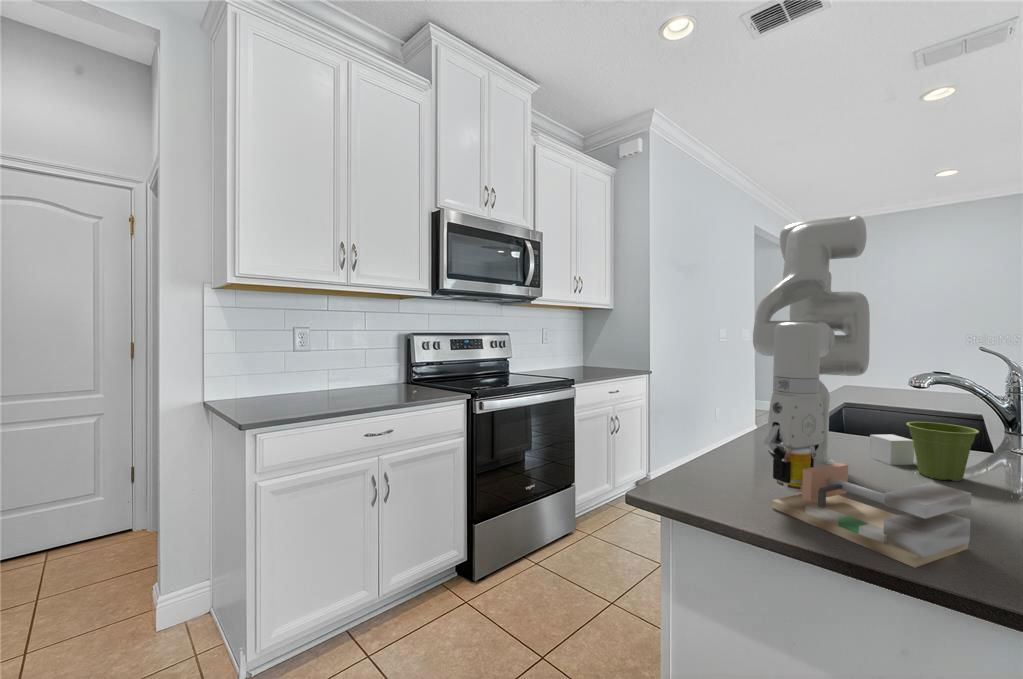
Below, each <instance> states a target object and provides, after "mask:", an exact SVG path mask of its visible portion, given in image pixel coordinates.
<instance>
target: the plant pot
mask: <svg viewBox="0 0 1023 679" xmlns="http://www.w3.org/2000/svg"><path fill="white" fill-rule="evenodd" d="M906 426H907V427H908V428H909V433H910V436H911V437H912V440H913V444H914V454H915V458H916V465H917V470H918V473H919V474H921V475H923V476H924V477H927V478H932V479H935V480H940V481H943V480H944V481H945V480H946V481H947V480H951V481H952V482H959V481H960V482H961V481H963V479H964V475H965V472H966V469H967V468H966V467H967V463H968V460H969V456H970V452H971V449H972V445H973V444H974V441H975V438H976V435H977V434H980V431H979V430H978V429H976V428H972V427H967V426H963V425H956V424H949V423H941V422H929V421H910V422H909V421H908V422H906Z"/></svg>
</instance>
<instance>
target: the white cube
mask: <svg viewBox="0 0 1023 679" xmlns="http://www.w3.org/2000/svg"><path fill="white" fill-rule="evenodd" d="M914 454H915V449H914V444H913V439H910V438H908V437H907V438H906V437H904V436H899V435H897V434H893V433H892V434H891V433H890V434H889V433H888V434H870V435H869V458H870V457H871V458H870V459H873V458H874V459H873V460H875V459H876V461H878V460H879V462H882V463H884V464H887V465H890V466H897V465H902V466H903V465H914V462H915V460H914V459H915V458H914V456H915V455H914Z"/></svg>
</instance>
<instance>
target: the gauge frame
mask: <svg viewBox="0 0 1023 679" xmlns="http://www.w3.org/2000/svg"><path fill="white" fill-rule="evenodd" d="M884 494H885V504H884V506H885V507H888V508H892V509H894V510H898V511H902V512H904V513H903V514H900V515H899V514H895V513H892V512H890V511H886V510H884V509H881V508H877V507H874V506H872V505H868V504H867V503H866V504H865V503H862V502H859V501H858V500H857V501H856V500H853V499H852V498H848V497H845V496H842V495H841V494H840V495H836V496H831V497H827V498H826V507H825V508H821V507H818V500H813V501H809V500H807V499H804V498H802V493H800V494H795V495H791V496H786V497H781V498H777V499H772V502H771V503H772V505H771V506H772V507H771V508H772V509H774V510H777V511H778V512H780V513H783V514H785V515H788V516H790V517H793V518H795V519H797V520H800V521H802V522H805V523H806V524H809V525H812V526H814V527H817V528H818V529H821V530H823V531H826V532H829V533H831V534H833V535H836V536H838V537H841V538H843V539H845V540H847V541H850V542H852V543H855V544H857V545H859V546H862V547H864V548H866V549H869V550H872V551H874V552H876V553H879V554H881V555H883V556H886V557H888V558H891V559H893V560H896V561H898V562H900V563H903V564H905V565H908V566H910V567H911V568H914V569H916V568H919V567H922V566H924V565H927V564H930V563H933V562H935V561H938V560H941V559H944V558H947V557H950V556H951V555H952V556H953V555H955V554H957V553H960V552H964V551H966V550H969V543H970V541H971V540H970V538H971V519H969V518H965V517H962V516H958V515H956V514H953V513H950V512H953V511H956V510H961V509H963V508H967V507H971V506H972V492H968V491H965V490H961V489H959V488H958V489H957V488H954V487H951V486H950V487H949V486H947V485H942V484H940V483H935V482H931V481H930V482H926V483H925V482H924V483H921V484H920V483H919V484H917V485H916V484H915V485H912V486H908V487H903V488H900V489H896V490H891V491H887V492H885V493H884Z"/></svg>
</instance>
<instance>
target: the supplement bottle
mask: <svg viewBox="0 0 1023 679" xmlns="http://www.w3.org/2000/svg"><path fill="white" fill-rule="evenodd" d="M781 444H783V442H782V443H781ZM780 450H781V451H782V453H783V451H784V448H782V447H780ZM788 462H791V477H790V483H785V482H782V481H779V480H776V484H777V486H778V487H779V488H781V489H783V490H786V491H789V492H794V493H802V481H803V469H806V468H811V449H810V448H809V447H802V448H794V449H793V448H791V452H790V456H789V460H788Z"/></svg>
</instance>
